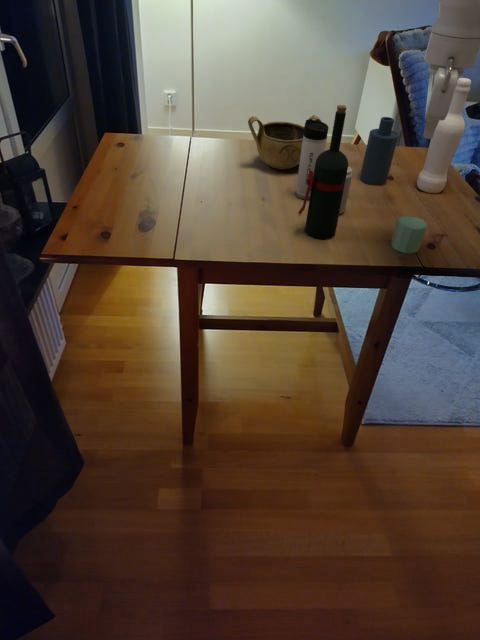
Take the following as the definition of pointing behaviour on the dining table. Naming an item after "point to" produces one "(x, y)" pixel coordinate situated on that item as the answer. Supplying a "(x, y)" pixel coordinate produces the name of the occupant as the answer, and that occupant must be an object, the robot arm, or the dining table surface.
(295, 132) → the ceramic bowl
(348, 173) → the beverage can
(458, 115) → the bottle
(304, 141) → the travel mug
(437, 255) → the dining table surface
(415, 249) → the paper cup
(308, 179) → the wine bottle
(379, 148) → the water bottle
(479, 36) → the robot arm
